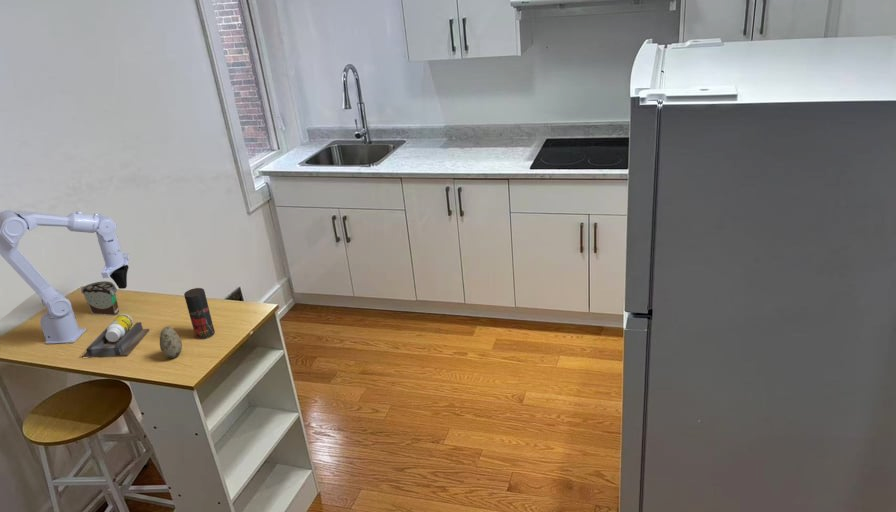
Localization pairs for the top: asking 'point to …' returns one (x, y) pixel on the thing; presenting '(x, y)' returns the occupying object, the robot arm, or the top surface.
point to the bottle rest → (116, 343)
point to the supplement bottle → (119, 327)
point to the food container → (101, 298)
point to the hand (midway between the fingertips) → (123, 287)
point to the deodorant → (199, 313)
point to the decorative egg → (170, 342)
